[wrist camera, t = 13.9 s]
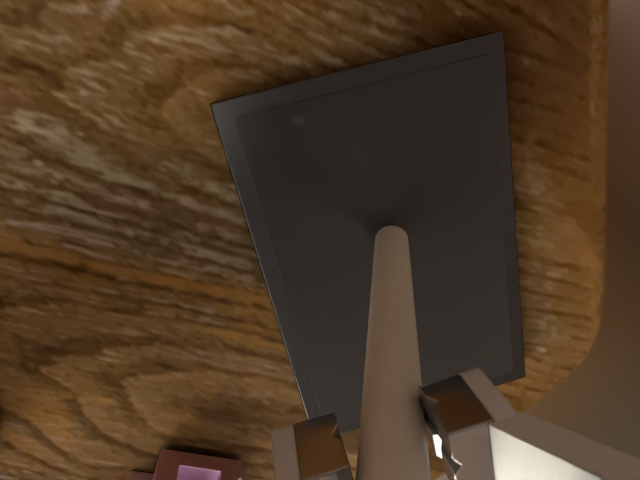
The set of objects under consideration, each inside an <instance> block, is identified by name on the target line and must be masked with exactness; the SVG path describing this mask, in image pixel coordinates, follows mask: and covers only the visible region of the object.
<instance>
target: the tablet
mask: <svg viewBox="0 0 640 480" xmlns="http://www.w3.org/2000/svg"><path fill="white" fill-rule="evenodd" d="M210 107H211V110H212V113H213V116H214V120H215V123H216V126H217V129H218V132H219V136H220V139H221V142H222V145H223V148H224V152H225V155H226V158H227V161H228V165H229V168H230V171H231V174H232V177H233V181H234V184H235V187H236V190H237V193H238V197H239V200H240V203H241V206H242V210H243V213H244V216H245V219H246V222H247V226H248V229H249V232H250V235H251V238H252V242H253V245H254V248H255V251H256V255H257V258H258V261H259V264H260V267H261V271H262V274H263V277H264V280H265V283H266V287H267V290H268V293H269V296H270V300H271V303H272V306H273V309H274V312H275V316H276V319H277V322H278V325H279V328H280V332H281V335H282V338H283V341H284V344H285V348H286V351H287V354H288V357H289V361H290V364H291V367H292V370H293V373H294V377H295V380H296V383H297V386H298V389H299V393H300V396H301V399H302V402H303V406H304V409H305V412H306V415H307V418H308V420H309V419H313V418H316V417H320V416H323V415H327V414H330V413H334V412H335V416H336V419H337V423H338V426H339V430H340V433H341V434H344V433H347V432H350V431H353V430H356V429H360V420H361V408H362V396H363V383H364V371H365V359H366V346H367V334H368V322H369V309H370V297H371V285H372V272H373V260H374V248H375V237H376V235H377V233H378V232H379V230H381V229H382V228H384V227H386V226H397V227H400V228H401V229H403V230H404V231H405V232H406V234H407V236H408V242H409V253H410V263H411V274H412V285H413V295H414V306H415V317H416V327H417V338H418V349H419V360H420V370H421V381H422V385H424V384H427V383H430V382H433V381H436V380H439V379H443V378H446V377H449V376H452V375H455V374H456V375H457V373H460V372H464V371H467V370H470V369H473V368H476V367H477V368H479V369H481V370H482V371H483V373H484V374H485V375H486V376H487V377H488V378H489V380H490V381H491V382H492V383H493V384H494V385H495V386H498V385H501V384H504V383H507V382H510V381H514V380H517V379H520V378H523V377H525V363H524V347H523V332H522V316H521V300H520V285H519V269H518V253H517V238H516V222H515V206H514V191H513V175H512V160H511V144H510V128H509V113H508V97H507V81H506V66H505V50H504V34H503V31H498V32H494V33H490V34H486V35H482V36H478V37H474V38H470V39H466V40H462V41H458V42H454V43H449V44H445V45H441V46H437V47H433V48H429V49H425V50H421V51H417V52H413V53H409V54H405V55H401V56H397V57H393V58H389V59H385V60H381V61H377V62H373V63H369V64H365V65H361V66H357V67H353V68H349V69H345V70H341V71H337V72H333V73H329V74H325V75H321V76H317V77H313V78H309V79H305V80H301V81H297V82H293V83H289V84H285V85H281V86H277V87H272V88H268V89H264V90H260V91H256V92H252V93H248V94H244V95H240V96H236V97H232V98H228V99H224V100H220V101H216V102H213V103H211V104H210Z"/></svg>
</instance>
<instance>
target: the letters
mask: <svg viewBox="0 0 640 480" xmlns="http://www.w3.org/2000/svg"><path fill="white" fill-rule="evenodd" d="M242 471H243V461H241V460H234V459H227V458H220V457H214V456H207V455H200V454H194V453H187V452H180V451H174V450H167V449H162V450H161V453H160V456H159V459H158V462H157V465H156V468H155V471H154V474H153V473H146V472H138V471H131V475H130V478H129V480H242Z"/></svg>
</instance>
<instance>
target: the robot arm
mask: <svg viewBox="0 0 640 480" xmlns="http://www.w3.org/2000/svg"><path fill="white" fill-rule="evenodd" d="M418 397H419V400H420V403H421V404H422V406H423V408H424V413H425V424H426V433H427V436H428V439H429V441H430V443H431V446H432V448H433V450H434V452H435V454H436V456H438V457H440V458H442V459H443V464H444V470H445V473H446V475H447V477H448V478H449V480H640V459H638V458H635V457H633V456H630V455H628V454H625V453H623V452H621V451H618V450H616V449H613V448H611V447H609V446H606V445H604V444H601V443H599V442H596V441H594V440H592V439H589V438H587V437H584V436H582V435H579V434H577V433H574V432H572V431H569V430H567V429H565V428H562V427H560V426H557V425H555V424H553V423H550V422H548V421H545V420H543V419H540V418H538V417H536V416H533V415H531V414H528V413H526V412H523V413H520V414H518V413H517V411H516V410H515V409H514V408H513V407H512V405H511V404H510V403H509V402H508V401H507V400H506V398H505V397H504V396H503V395H502V394H501V393H500V391H499V390H498V389H497V388H496V387H495V385H494V384H493V383H492V382H491V381H490V380H489V378H488V377H487V376H486V375H485V374H484V373H483V371H482V370H481V369H479V368H477V367H476V368H473V369H470V370H467V371H464V372H460V373H457V375H456V374H455V375H452V376H449V377H446V378H443V379H439V380H436V381H433V382H430V383H427V384H424V385H421V386H418ZM272 448H273V463H274V477H275V480H353V476H352V473H351V469H350V465H349V461H348V458H347V454H346V451H345V447H344V444H343V440H342V437H341V433H340V430H339V426H338V423H337V419H336V416H335V412H334V413H330V414H327V415H323V416H320V417H316V418H313V419H309V420H306V421H302V422H299V423H295V424H294V425H290V426H286V427H283V428H279V429H275V430H273V432H272Z"/></svg>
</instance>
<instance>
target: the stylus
mask: <svg viewBox="0 0 640 480" xmlns="http://www.w3.org/2000/svg"><path fill="white" fill-rule="evenodd" d="M421 385H422V381H421V370H420V360H419V349H418V338H417V327H416V317H415V306H414V295H413V285H412V274H411V263H410V253H409V242H408V236H407V234H406V232H405V231H404V230H403V229H401V228H400V227H397V226H386V227H384V228H382V229H381V230H379V232H378V233H377V235H376V237H375V248H374V260H373V272H372V285H371V297H370V309H369V322H368V334H367V346H366V359H365V371H364V383H363V396H362V408H361V420H360V433H359V445H358V457H357V470H356V480H431V477H430V466H429V456H428V445H427V434H426V424H425V413H424V408H423V406H422V404H421V403H420V400H419V397H418V386H421Z"/></svg>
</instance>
